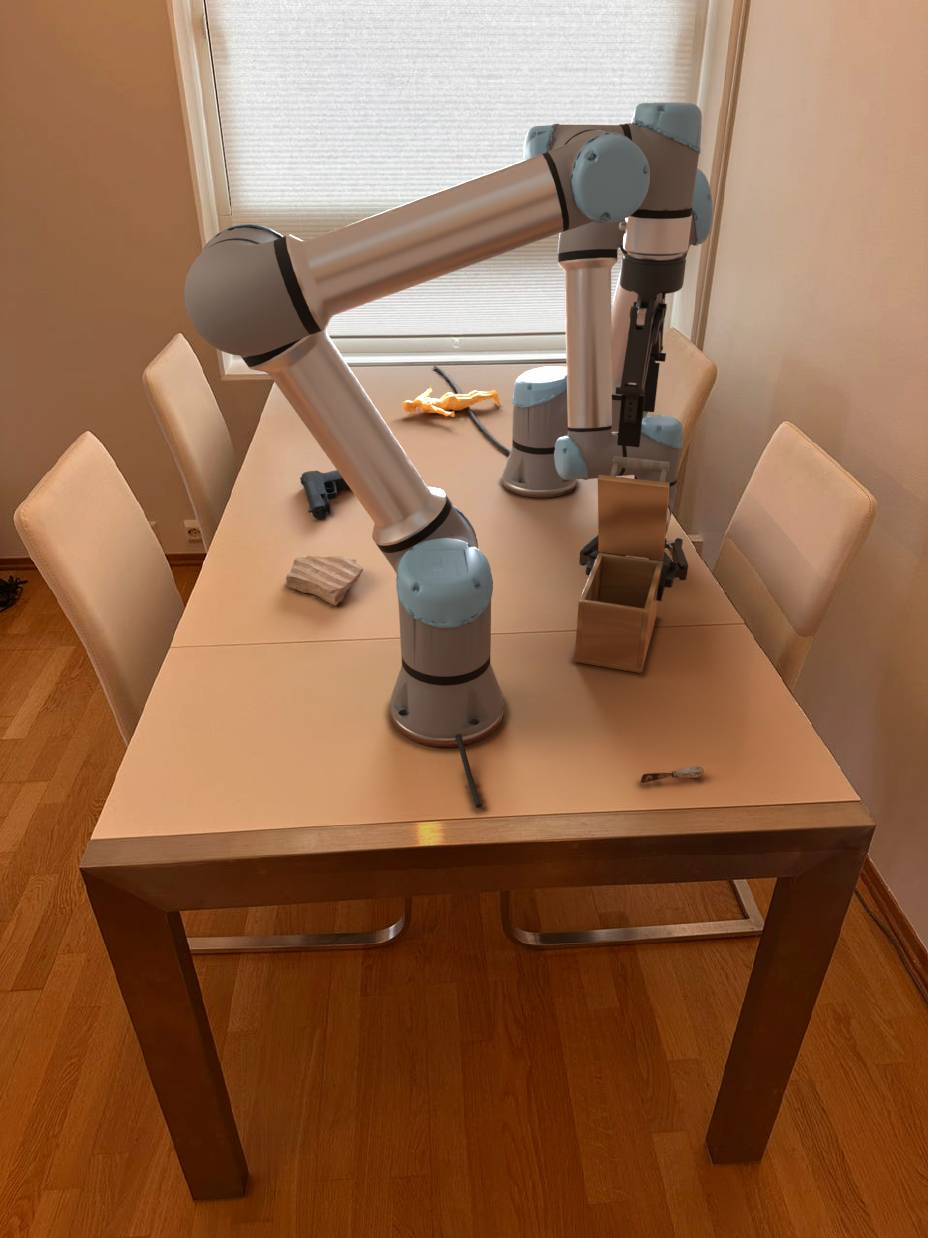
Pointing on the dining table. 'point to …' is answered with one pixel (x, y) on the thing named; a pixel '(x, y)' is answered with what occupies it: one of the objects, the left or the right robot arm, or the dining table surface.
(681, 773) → the putty knife
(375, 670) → the dining table surface
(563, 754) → the dining table surface
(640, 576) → the chest
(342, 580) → the stone
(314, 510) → the handgun
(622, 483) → the lid
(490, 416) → the dining table surface
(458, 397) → the human figure
